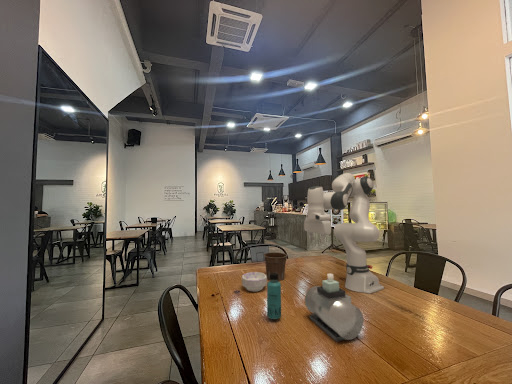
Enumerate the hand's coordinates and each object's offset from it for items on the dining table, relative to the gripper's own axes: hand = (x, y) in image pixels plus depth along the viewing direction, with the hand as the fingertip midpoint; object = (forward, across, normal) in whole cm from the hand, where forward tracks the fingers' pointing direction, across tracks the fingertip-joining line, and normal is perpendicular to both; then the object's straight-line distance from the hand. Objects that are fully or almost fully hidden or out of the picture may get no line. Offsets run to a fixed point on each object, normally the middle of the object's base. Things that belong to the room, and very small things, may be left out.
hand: (316, 241), depth 120 cm
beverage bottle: (+31, +10, -30) cm, 44 cm away
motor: (+31, +22, -10) cm, 39 cm away
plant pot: (+31, -40, -7) cm, 51 cm away
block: (+17, +24, -10) cm, 31 cm away
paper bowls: (+31, -27, -27) cm, 49 cm away
